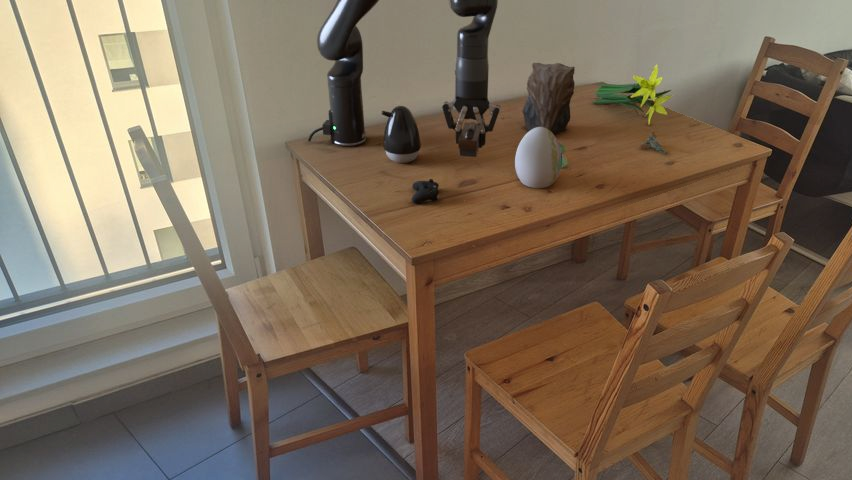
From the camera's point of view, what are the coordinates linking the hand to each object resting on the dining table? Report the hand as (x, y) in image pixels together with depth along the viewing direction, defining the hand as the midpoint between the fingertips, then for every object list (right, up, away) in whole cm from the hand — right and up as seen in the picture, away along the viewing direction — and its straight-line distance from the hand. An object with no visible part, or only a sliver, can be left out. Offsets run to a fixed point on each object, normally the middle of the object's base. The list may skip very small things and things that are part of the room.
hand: (470, 145), depth 164 cm
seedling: (+23, 0, +27) cm, 35 cm away
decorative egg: (+17, -7, +16) cm, 24 cm away
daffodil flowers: (+50, +23, +65) cm, 85 cm away
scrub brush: (0, 0, 0) cm, 0 cm away
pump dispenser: (-20, +1, +25) cm, 32 cm away
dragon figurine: (+53, +6, +38) cm, 66 cm away
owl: (+21, +14, +48) cm, 55 cm away
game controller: (-12, -12, +6) cm, 17 cm away
